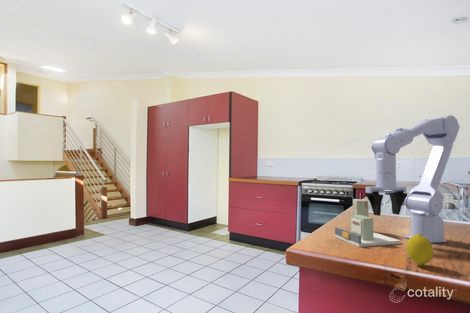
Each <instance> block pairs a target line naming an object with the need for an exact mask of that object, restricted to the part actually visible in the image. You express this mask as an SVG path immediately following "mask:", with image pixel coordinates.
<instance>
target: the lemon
mask: <svg viewBox="0 0 470 313" xmlns="http://www.w3.org/2000/svg"><path fill="white" fill-rule="evenodd" d="M432 244H433V243H431V242H430V241H429V240H428V239H427V238H426V237H424V236H422V235H421V234H417V235H414V236H412V237H411V238H408V240H407V243H406V253H407V256H408V257H409V259H410V260H412V261H413V262H414V263H415V264H416V265H418V267H419V266H420V267H422V266H423V265H425V264H428V263H430V262H431V261H432V259H433V257H434V248H433V245H432Z"/></svg>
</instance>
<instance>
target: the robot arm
mask: <svg viewBox="0 0 470 313" xmlns="http://www.w3.org/2000/svg"><path fill="white" fill-rule="evenodd" d="M460 128H461V127H460V124H459V121H458V119H457V118H456V117H455V116H454V115H450V114H449V115H446V116H442V117H441V116H440V117H435V118H429V119H427V118H426V119H424V120H420V121H419V122H418V123H416V124H415V125H413V126H411V127H409V128H402V127H399V128H396V129H395V131H393V132H391V133H389V132H388V133H386V134H385V135H384V137H378V138H376V139H374V141H373V143H372V145H371V150H372V152H373V154H374V158H375V166H376V168H375V171H376V172H375V173H376V174H375V176H376V177H375V178H376V182H375V183H376V184H375V185H374V186H373V185H372V186H365V196H366V198H367V199H368V200H367V201H368V202H369V204H370V206H371V209H372V213H373V215H375V216H381V212H382V201H383V199H384V194H380V193H388V194H389V198H390V202H391V212H392V214H393V215H398V216H399V215H400V213H401V210H402V207H403V204H404V205H405V209H407V210H408V213H410V235H405V236H404V238H407V239H409V238H411V237H412V236H414V235H417V234H421V235H422V236H424V237H426V238H427V239H428V240H429V241H430V242H431V244H435V243H447V242H448V241H447V240H446V239H445V223H444V220H443V218H442V217H441V215H440V213H441V212H442V211H443V206H444V205H443V204H444V202H443V201H444V197H445V196H444V195H443V194H442V192H441V191H440V190H438V189H439V186H440V184H441V181H442V178H443V175H444V173H445V169H446V167H447V164H448V161H449V158H450V156H451V153H452V150H453V147H454V142H455V141H456V138H457V137H458V133H459V131H460ZM420 135H422V136H423V137H424V138H425V139H426V141H427V142H428V144H429V145H431V146H432V149H431V151H430V154H429V158H428V161H427V163H426V165H425V168H424V171H423V174H422V176H421V178H420V182H419V183H418V184H417V185H416V186H414V187H412V188H411V189H410V191H409V193H407V186H404V185H397V155H396V154H399V152H400V150H401V149H402V148H404V147H406V146H407V145H410V144H411V143H412V142H413V141H414V138H415V137H419V136H420Z"/></svg>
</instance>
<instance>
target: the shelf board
mask: <svg viewBox="0 0 470 313" xmlns="http://www.w3.org/2000/svg"><path fill="white" fill-rule="evenodd" d="M334 238H337V239H339V240H342V241H343V242H346V243H348V244H351V245H353V246H355V247H358V248H362V247H376V246H377V245H378V246H388V245H390V244H391V245H401V240H399V239H397V238H394V237H391V236H387V235H383V234H381V233H378V232H375V231H373V240H361V236H360V235H358V234H355V233H352V232H351V231H348V230H346V229H344V228H341V227H337V226H335V227H334Z"/></svg>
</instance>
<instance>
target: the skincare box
mask: <svg viewBox="0 0 470 313" xmlns="http://www.w3.org/2000/svg"><path fill="white" fill-rule="evenodd" d="M352 215H362V216H366V217H369V200H366V199H362V198H361V199H359V198H353V199H352Z"/></svg>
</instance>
